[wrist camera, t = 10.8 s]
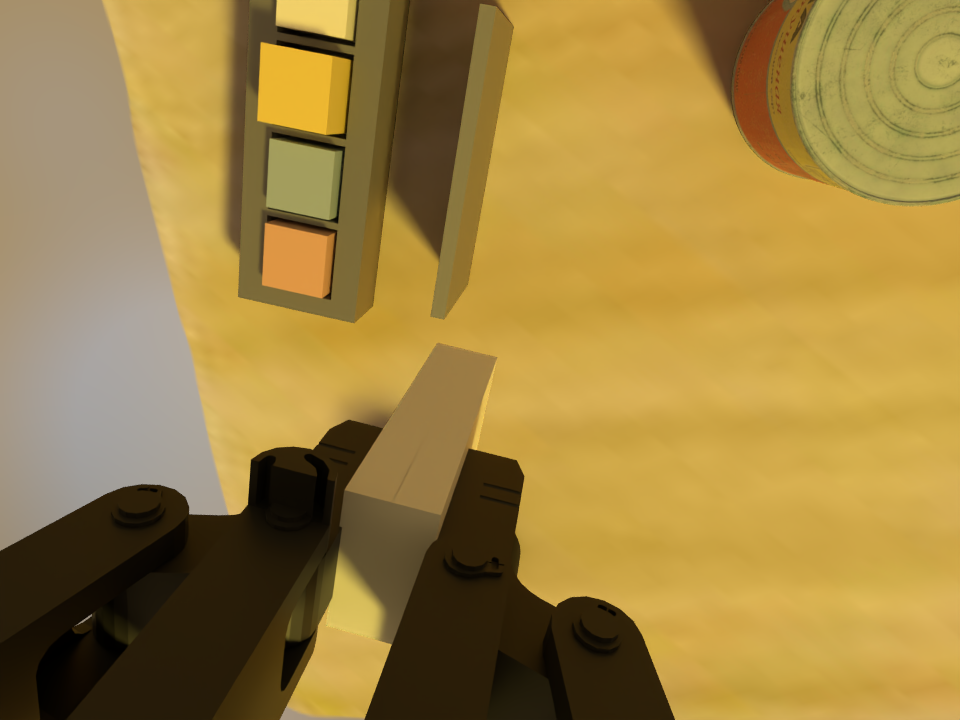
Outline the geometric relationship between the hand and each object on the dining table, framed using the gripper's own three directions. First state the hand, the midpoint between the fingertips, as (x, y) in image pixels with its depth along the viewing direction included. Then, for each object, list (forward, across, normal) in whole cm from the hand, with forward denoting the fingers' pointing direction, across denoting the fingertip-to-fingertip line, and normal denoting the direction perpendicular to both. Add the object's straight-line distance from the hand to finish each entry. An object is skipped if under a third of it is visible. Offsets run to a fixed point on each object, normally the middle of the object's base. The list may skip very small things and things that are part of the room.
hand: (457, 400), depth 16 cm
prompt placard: (+28, -4, +3) cm, 29 cm away
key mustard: (+25, -14, +5) cm, 29 cm away
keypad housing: (+28, -14, +2) cm, 32 cm away
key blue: (+27, -14, 0) cm, 30 cm away
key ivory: (+27, -14, +10) cm, 32 cm away
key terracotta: (+27, -14, -5) cm, 31 cm away
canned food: (+29, +15, +11) cm, 34 cm away
